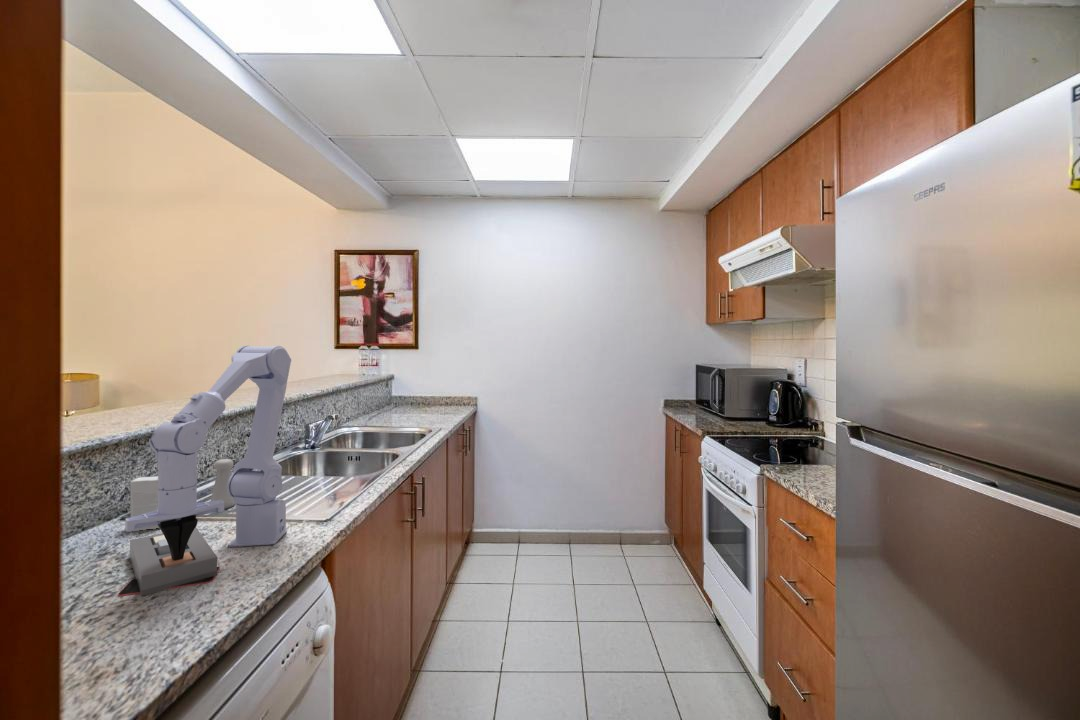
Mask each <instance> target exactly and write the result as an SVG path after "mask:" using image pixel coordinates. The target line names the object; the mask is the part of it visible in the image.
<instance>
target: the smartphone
mask: <svg viewBox="0 0 1080 720" xmlns="http://www.w3.org/2000/svg"><path fill="white" fill-rule="evenodd" d="M220 570H221V568H220V566H217V575H218V573H219V572H220ZM216 577H217V576H216V575H215V576H212V577H208V578H204V579H201V580H197V581H193V582H189V583H186V584H182V585H178V586H175V587H170V588H168V589H166V590H171V589H178V588H179V589H180V588H185V587H192V586H197V585H205V584H210V583H212V582H213V581H215V579H216ZM166 590H165V591H166ZM132 595H141V594H140V590H139V586H138V583H137V579H136V577H134V578H133V579H131V580H130V581H129V582H128V583H127V584H126V585H124V587H123V588H122V589H121V590H120V591H119V592H118V593H117V597H121V598H122V597H125V596H132Z"/></svg>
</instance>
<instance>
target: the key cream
mask: <svg viewBox="0 0 1080 720" xmlns="http://www.w3.org/2000/svg"><path fill="white" fill-rule="evenodd" d="M163 539H166V538H165V536H164V535H161V536H157V537H153V545H156V544H158V540H163Z"/></svg>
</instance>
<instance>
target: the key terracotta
mask: <svg viewBox="0 0 1080 720" xmlns="http://www.w3.org/2000/svg"><path fill="white" fill-rule="evenodd" d="M192 560H193V558H192V556H191V554H190V553H189V552H186V553H184V557H183V559H180V560H176V561H174V560H173V559H172V558H171V556H169V557H165V558H162V568H164V567H168V566H172V565H176V564H180V563H184V562H188V561H192Z"/></svg>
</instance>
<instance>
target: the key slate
mask: <svg viewBox="0 0 1080 720" xmlns="http://www.w3.org/2000/svg"><path fill="white" fill-rule="evenodd" d="M168 553H171V552H170V548H169V545H168V543H167V540H166V539H163V540H158V555H163V554H168Z"/></svg>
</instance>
